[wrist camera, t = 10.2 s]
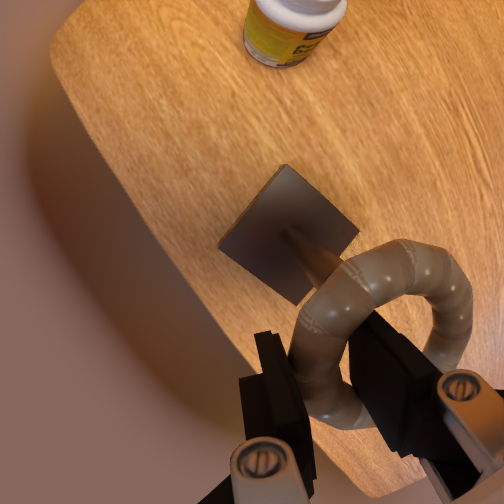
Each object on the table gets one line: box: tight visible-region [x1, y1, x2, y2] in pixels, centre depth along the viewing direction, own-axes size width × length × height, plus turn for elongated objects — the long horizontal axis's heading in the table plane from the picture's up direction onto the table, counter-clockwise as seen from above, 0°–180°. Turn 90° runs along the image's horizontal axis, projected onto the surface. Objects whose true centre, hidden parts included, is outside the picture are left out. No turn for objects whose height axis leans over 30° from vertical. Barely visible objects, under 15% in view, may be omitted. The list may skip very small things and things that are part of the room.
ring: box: [287, 239, 473, 430], centre depth 9 cm, size 7×7×2 cm
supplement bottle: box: [243, 0, 347, 67], centre depth 15 cm, size 6×6×10 cm
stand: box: [218, 164, 360, 306], centre depth 19 cm, size 8×8×11 cm
